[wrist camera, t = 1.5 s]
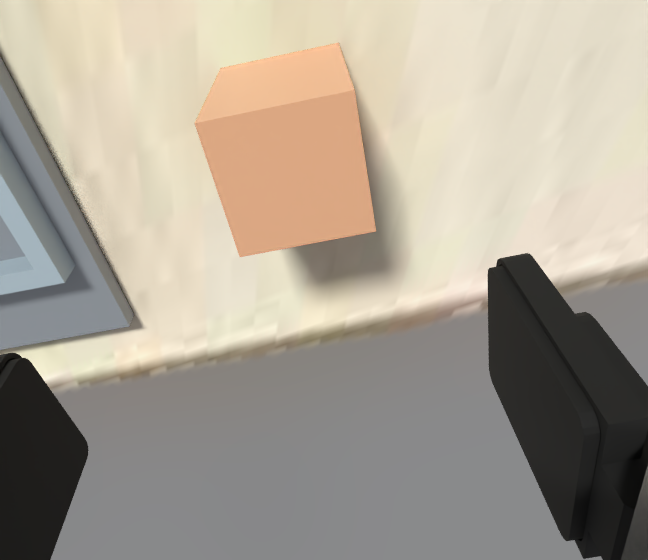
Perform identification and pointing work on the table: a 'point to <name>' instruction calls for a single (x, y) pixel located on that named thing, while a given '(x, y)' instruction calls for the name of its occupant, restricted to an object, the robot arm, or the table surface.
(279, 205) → the orange rectangular block
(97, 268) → the holder dock
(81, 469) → the robot arm
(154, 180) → the table surface
